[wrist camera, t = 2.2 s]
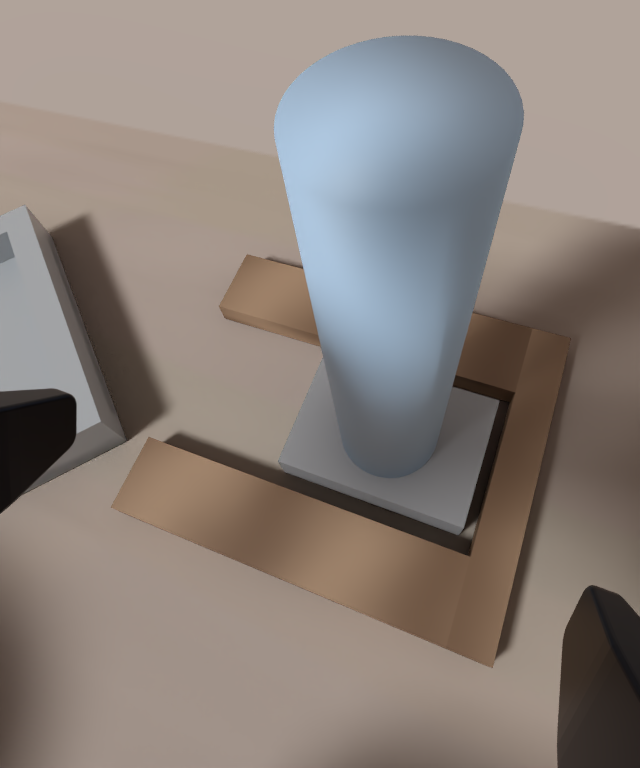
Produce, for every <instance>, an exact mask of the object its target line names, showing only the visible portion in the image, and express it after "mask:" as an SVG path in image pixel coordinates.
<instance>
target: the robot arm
mask: <svg viewBox="0 0 640 768" xmlns="http://www.w3.org/2000/svg"><path fill="white" fill-rule="evenodd" d="M76 434H77V402H76V399H75V397H74V396H73V395H71V394H69V393H66V392H64V391H61V390H58V389H54V388H48V389H32V390H16V391H0V514H1V513H2V512H3V511H4V510H5V509H7V508H8V507H9V506H10V505H11V504H12V503H14V502H15V501H16V500H17V499H18V498H19V497H20V496H21V495H22V494H23V493H24V492H25V491H26V490H27V489H28V488H29V487H30V486H31V485H33V484H34V483H35V482H36V481H37V480H38V479H39V478H40V477H41V476H42V475H43V474H44V473H45V472H46V471H47V470H48V469H49V468H50V467H51V466H52V465H53V464H54V463H55V462H56V461H57V460H58V459H59V458H60V457H61V456H62V455H64V454H65V453H66V452H67V451H68V450H69V449H70V448H71V446H72V445H73V443H74V441H75V439H76ZM557 761H558V768H640V617H639V616H638V615H637V613H636V612H635V611H634V610H633V609H632V608H631V607H630V605H629V604H628V603H627V602H626V601H625V600H624V599H623V598H622V597H621V596H620V595H619V594H617V593H614V592H611V591H608V590H606V589H603V588H600V587H597V586H594V585H591V586H588V587H587V588H586V589H585V590H584V592H583V594H582V596H581V598H580V600H579V602H578V604H577V606H576V608H575V610H574V612H573V614H572V616H571V618H570V620H569V622H568V624H567V627H566V629H565V633H564V637H563V646H562V663H561V680H560V697H559V714H558V732H557Z"/></svg>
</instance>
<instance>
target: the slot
mask: <svg viewBox="0 0 640 768" xmlns="http://www.w3.org/2000/svg"><path fill="white" fill-rule="evenodd" d="M219 307H220V309H221V311H222V313H223V315H224V317H225V318H226V319H229V320H232V321H236V322H239V323H242V324H246V325H249V326H253V327H256V328H259V329H263V330H266V331H270V332H273V333H276V334H280V335H283V336H286V337H290V338H293V339H297V340H300V341H303V342H307V343H310V344H314V345H317V346H320V347H321V345H320V340H319V336H318V331H317V327H316V322H315V318H314V313H313V309H312V304H311V300H310V295H309V291H308V286H307V282H306V277H305V273H304V269H301V268H298V267H294V266H290V265H286V264H282V263H278V262H274V261H271V260H267V259H263V258H259V257H255V256H251V255H246V257H245V259H244V261H243V263H242V264H241V266H240V268H239V270H238V272H237V274H236V276H235V277H234V279H233V281H232V283H231V285H230V287H229V289H228V290H227V292H226V294H225V296H224V298H223V300H222V302H221V303H220V305H219ZM570 341H571V338H568V337H565V336H561V335H557V334H553V333H549V332H545V331H541V330H537V329H534V328H530V327H526V326H522V325H518V324H514V323H510V322H507V321H503V320H499V319H495V318H491V317H487V316H483V315H479V314H476V313H472V316H471V320H470V323H469V327H468V331H467V334H466V338H465V342H464V345H463V349H462V353H461V356H460V360H459V364H458V367H457V371H456V375H455V378H454V382H453V386H456V387H459V388H463V389H466V390H469V391H473V392H476V393H480V394H483V395H486V396H490V397H493V398H496V399H500V400H503V401H507V402H510V403H509V407H508V411H507V414H506V418H505V422H504V425H503V429H502V433H501V436H500V440H499V444H498V447H497V451H496V455H495V458H494V462H493V465H492V469H491V473H490V476H489V480H488V484H487V487H486V491H485V495H484V498H483V502H482V506H481V509H480V513H479V517H478V520H477V524H476V528H475V531H474V535H473V539H472V542H471V546H470V550H469V553H468V556H467V555H464V554H461V553H459V552H456V551H453V550H451V549H448V548H445V547H443V546H440V545H437V544H435V543H432V542H429V541H427V540H424V539H421V538H418V537H416V536H413V535H410V534H408V533H405V532H402V531H400V530H397V529H394V528H392V527H389V526H386V525H384V524H381V523H378V522H376V521H373V520H370V519H368V518H365V517H362V516H359V515H357V514H354V513H351V512H349V511H346V510H343V509H341V508H338V507H335V506H333V505H330V504H327V503H325V502H322V501H319V500H317V499H314V498H311V497H309V496H306V495H303V494H300V493H298V492H295V491H292V490H290V489H287V488H284V487H282V486H279V485H276V484H274V483H271V482H268V481H266V480H263V479H260V478H258V477H255V476H252V475H250V474H247V473H244V472H241V471H239V470H236V469H233V468H231V467H228V466H225V465H223V464H220V463H217V462H215V461H212V460H209V459H207V458H204V457H201V456H199V455H196V454H193V453H191V452H188V451H185V450H182V449H180V448H177V447H174V446H172V445H169V444H166V443H164V442H161V441H158V440H156V439H153V438H150V437H148V439H147V441H146V443H145V445H144V447H143V448H142V450H141V452H140V454H139V456H138V458H137V460H136V461H135V463H134V465H133V467H132V469H131V471H130V473H129V474H128V476H127V478H126V480H125V482H124V484H123V486H122V487H121V489H120V491H119V493H118V495H117V497H116V499H115V500H114V502H113V504H112V506H111V508H114V509H116V510H118V511H120V512H122V513H125V514H127V515H129V516H132V517H134V518H136V519H139V520H141V521H144V522H146V523H148V524H151V525H153V526H155V527H158V528H160V529H163V530H165V531H167V532H170V533H172V534H174V535H177V536H179V537H182V538H184V539H186V540H189V541H191V542H193V543H196V544H198V545H201V546H203V547H205V548H208V549H210V550H212V551H215V552H217V553H220V554H222V555H224V556H227V557H229V558H231V559H234V560H236V561H239V562H241V563H243V564H246V565H248V566H251V567H253V568H255V569H258V570H260V571H262V572H265V573H267V574H270V575H272V576H274V577H277V578H279V579H281V580H284V581H286V582H289V583H291V584H293V585H296V586H298V587H300V588H303V589H305V590H308V591H310V592H312V593H315V594H317V595H319V596H322V597H324V598H327V599H329V600H331V601H334V602H336V603H338V604H341V605H343V606H346V607H348V608H350V609H353V610H355V611H358V612H360V613H362V614H365V615H367V616H369V617H372V618H374V619H377V620H379V621H381V622H384V623H386V624H388V625H391V626H393V627H396V628H398V629H400V630H403V631H405V632H407V633H410V634H412V635H415V636H417V637H419V638H422V639H424V640H426V641H429V642H431V643H434V644H436V645H438V646H441V647H443V648H445V649H448V650H450V651H453V652H455V653H457V654H460V655H462V656H464V657H467V658H469V659H472V660H474V661H476V662H479V663H481V664H484V665H486V666H489V667H492V668H493V664H494V660H495V656H496V652H497V648H498V643H499V639H500V635H501V631H502V627H503V622H504V618H505V614H506V610H507V606H508V601H509V597H510V593H511V589H512V585H513V580H514V576H515V572H516V568H517V564H518V559H519V555H520V551H521V547H522V543H523V538H524V534H525V530H526V526H527V522H528V517H529V513H530V509H531V505H532V501H533V496H534V492H535V488H536V484H537V480H538V475H539V471H540V467H541V463H542V459H543V454H544V450H545V446H546V442H547V438H548V433H549V429H550V425H551V421H552V417H553V412H554V408H555V404H556V400H557V396H558V391H559V387H560V383H561V379H562V375H563V370H564V366H565V362H566V358H567V354H568V350H569V345H570Z"/></svg>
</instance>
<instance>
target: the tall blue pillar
mask: <svg viewBox="0 0 640 768" xmlns="http://www.w3.org/2000/svg"><path fill="white" fill-rule="evenodd" d="M523 120H524V110H523V104H522V99H521V97H520V94H519V91H518V89H517V87H516V85H515V84H514V82H513V80H512V79H511V78H510V76H508V74H507V73H506V72H505V70H504V69H502V68H501V67H500V66H499V65H498V64H497V63H496V62H494V61H493V60H491V59H490V58H488V57H487V56H485V55H484V54H482V53H480V52H478V51H476V50H474V49H472V48H470V47H467V46H465V45H462V44H459V43H456V42H452V41H449V40H445V39H439V38H434V37H425V36H392V37H383V38H377V39H371V40H367V41H363V42H359V43H356V44H353V45H350V46H347V47H344V48H342V49H340V50H337V51H335V52H333V53H331V54H329V55H327V56H325V57H324V58H322V59H320V60H319V61H317V62H316V63H314V64H313V65H311V66H310V67H308V68H307V69H306V70H305V71H304V72H303V73H301V74H300V75H299V76H298V77H297V78H296V80H295V81H294V82H293V83H292V84H291V85H290V87H289V88H288V89H287V91H286V92H285V94H284V95H283V97H282V100H281V101H280V103H279V106H278V109H277V112H276V115H275V122H274V136H275V142H276V147H277V151H278V156H279V160H280V165H281V169H282V174H283V178H284V183H285V187H286V192H287V196H288V201H289V205H290V210H291V214H292V219H293V223H294V228H295V232H296V237H297V241H298V246H299V250H300V255H301V259H302V264H303V268H304V273H305V277H306V282H307V286H308V291H309V295H310V300H311V304H312V309H313V313H314V318H315V322H316V327H317V331H318V336H319V340H320V345H321V349H322V354H323V358H322V361H321V363H320V365H319V367H318V370H317V372H316V374H315V377H314V379H313V381H312V384H311V386H310V388H309V391H308V393H307V395H306V397H305V400H304V402H303V404H302V407H301V409H300V411H299V414H298V416H297V418H296V421H295V423H294V425H293V428H292V430H291V432H290V434H289V437H288V439H287V441H286V444H285V446H284V448H283V451H282V453H281V455H280V458H279V460H278V462H279V464H280V465H281V467H282V469H283V470H284V472H285V473H288V474H291V475H294V476H296V477H299V478H302V479H305V480H307V481H310V482H313V483H316V484H318V485H321V486H324V487H326V488H329V489H332V490H335V491H337V492H340V493H343V494H346V495H348V496H351V497H354V498H357V499H359V500H362V501H365V502H368V503H370V504H373V505H376V506H379V507H381V508H384V509H387V510H390V511H392V512H395V513H398V514H400V515H403V516H406V517H409V518H411V519H414V520H417V521H420V522H422V523H425V524H428V525H431V526H433V527H436V528H439V529H442V530H444V531H447V532H450V533H453V534H455V535H459V534H460V533H461V531H462V530H463V529H464V525H465V522H466V518H467V515H468V511H469V508H470V504H471V501H472V497H473V494H474V490H475V486H476V483H477V479H478V476H479V472H480V469H481V465H482V462H483V458H484V455H485V451H486V447H487V444H488V440H489V437H490V433H491V430H492V426H493V423H494V419H495V415H496V412H497V408H498V405H499V400H496V399H493V398H489V397H486V396H482V395H479V394H476V393H472V392H469V391H466V390H462V389H459V388H455V387H452V386H453V382H454V378H455V375H456V371H457V367H458V364H459V360H460V356H461V353H462V349H463V345H464V342H465V338H466V334H467V331H468V327H469V323H470V320H471V316H472V312H473V309H474V305H475V301H476V298H477V294H478V290H479V287H480V283H481V279H482V276H483V272H484V268H485V265H486V261H487V257H488V254H489V250H490V246H491V243H492V239H493V235H494V231H495V228H496V224H497V220H498V217H499V213H500V209H501V206H502V202H503V198H504V195H505V191H506V187H507V184H508V180H509V176H510V173H511V169H512V165H513V162H514V158H515V154H516V151H517V147H518V143H519V140H520V135H521V131H522V127H523Z"/></svg>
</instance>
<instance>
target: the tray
mask: <svg viewBox="0 0 640 768" xmlns="http://www.w3.org/2000/svg"><path fill="white" fill-rule="evenodd" d="M48 388H54V389H58V390H61V391H64V392H66V393H69V394H71V395H73V396H74V397H75V399H76V402H77V434H76V439H75V441H74V443H73V445H72V446H71V448H70V449H69V450H68V451H67V452H66V453H65V454H64V455H62V456H61V457H60V458H59V459H58V460H57V461H56V462H55V463H54V464H53V465H52V466H51V467H50V468H49V469H48V470H47V471H46V472H45V473H44V474H43V475H42V476H41V477H40V478H39V479H38V480H37V481H36V482H35V483H34V484H33V485H31V486H30V487H29V488H28V489H27V490H26V491H25V492H24V493H26V492H28V491H30V490H32V489H34V488H36V487H38V486H40V485H42V484H44V483H46V482H47V481H49V480H51V479H53V478H55V477H57V476H59V475H61V474H63V473H65V472H67V471H69V470H71V469H73V468H75V467H77V466H79V465H81V464H83V463H85V462H87V461H89V460H91V459H93V458H95V457H97V456H99V455H101V454H103V453H104V452H106V451H108V450H110V449H112V448H114V447H116V446H118V445H120V444H122V443H124V442H126V441H127V440H126V437H125V434H124V432H123V429H122V426H121V424H120V421H119V418H118V415H117V413H116V410H115V407H114V405H113V402H112V399H111V396H110V394H109V391H108V388H107V386H106V383H105V380H104V377H103V375H102V372H101V369H100V367H99V364H98V361H97V358H96V356H95V353H94V350H93V348H92V345H91V342H90V339H89V337H88V334H87V331H86V328H85V326H84V323H83V320H82V318H81V315H80V312H79V309H78V307H77V304H76V301H75V299H74V296H73V293H72V290H71V288H70V285H69V282H68V280H67V277H66V274H65V271H64V269H63V266H62V263H61V261H60V258H59V255H58V252H57V250H56V247H55V244H54V242H53V239H52V236H51V235H50V234H49V233H48V231H47V230H46V229H45V228H44V227H43V226H42V224H41V223H40V222H39V221H38V220H37V218H36V217H35V216H34V215H33V214H32V212H31V211H30V210H29V209H28V208H27V206H26V205H23V206H21V207H19V208H17V209H14V210H12V211H10V212H8V213H5V214H3V215H1V216H0V391H16V390H32V389H48ZM24 493H23V494H24Z"/></svg>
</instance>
